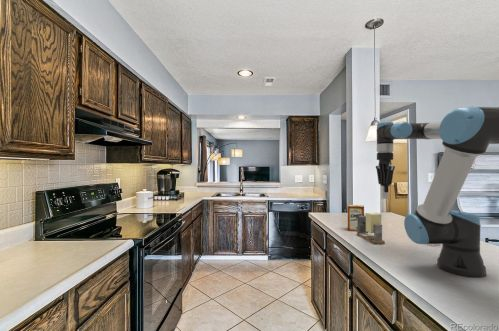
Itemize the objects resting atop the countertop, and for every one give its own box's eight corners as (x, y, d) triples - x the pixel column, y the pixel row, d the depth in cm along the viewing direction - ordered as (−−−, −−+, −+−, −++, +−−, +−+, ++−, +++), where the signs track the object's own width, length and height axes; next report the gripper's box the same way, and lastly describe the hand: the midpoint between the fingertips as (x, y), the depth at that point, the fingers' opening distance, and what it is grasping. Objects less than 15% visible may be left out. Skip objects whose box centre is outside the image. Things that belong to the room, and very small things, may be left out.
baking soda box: (347, 230, 163) (347, 205, 163) (347, 228, 170) (347, 204, 169) (364, 232, 160) (364, 206, 160) (363, 229, 166) (363, 204, 166)
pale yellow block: (381, 233, 139) (381, 214, 139) (370, 233, 138) (370, 214, 138) (376, 230, 144) (376, 212, 144) (365, 230, 143) (365, 212, 143)
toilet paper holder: (384, 244, 136) (384, 222, 136) (373, 244, 135) (373, 222, 135) (366, 234, 154) (366, 215, 154) (356, 235, 153) (356, 215, 153)
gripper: (400, 151, 126) (400, 200, 126) (384, 152, 139) (384, 196, 139) (385, 151, 125) (385, 200, 125) (370, 152, 138) (370, 197, 138)
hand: (384, 198), depth 132 cm, fingers closed
